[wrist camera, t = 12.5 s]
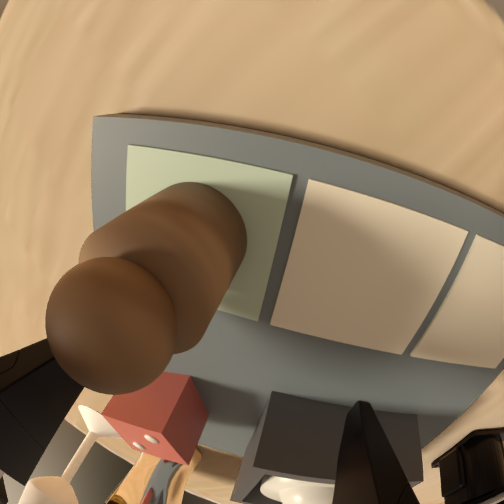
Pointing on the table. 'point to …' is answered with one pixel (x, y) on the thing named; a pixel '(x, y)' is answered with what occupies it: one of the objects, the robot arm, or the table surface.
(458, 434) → the table surface
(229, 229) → the walnut pawn
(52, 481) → the champagne flute
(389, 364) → the game board
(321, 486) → the dome button
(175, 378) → the red die
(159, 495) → the beer glass
